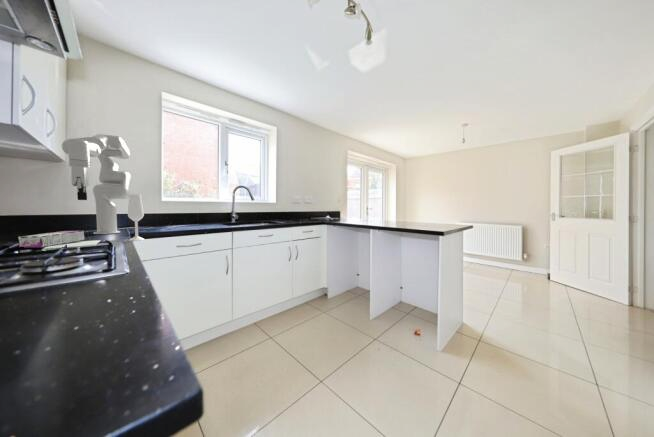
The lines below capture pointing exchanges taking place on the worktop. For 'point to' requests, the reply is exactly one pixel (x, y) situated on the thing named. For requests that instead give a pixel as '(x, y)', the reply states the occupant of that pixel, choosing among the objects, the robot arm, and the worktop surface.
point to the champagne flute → (135, 212)
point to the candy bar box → (51, 238)
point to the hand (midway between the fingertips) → (82, 199)
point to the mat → (74, 244)
